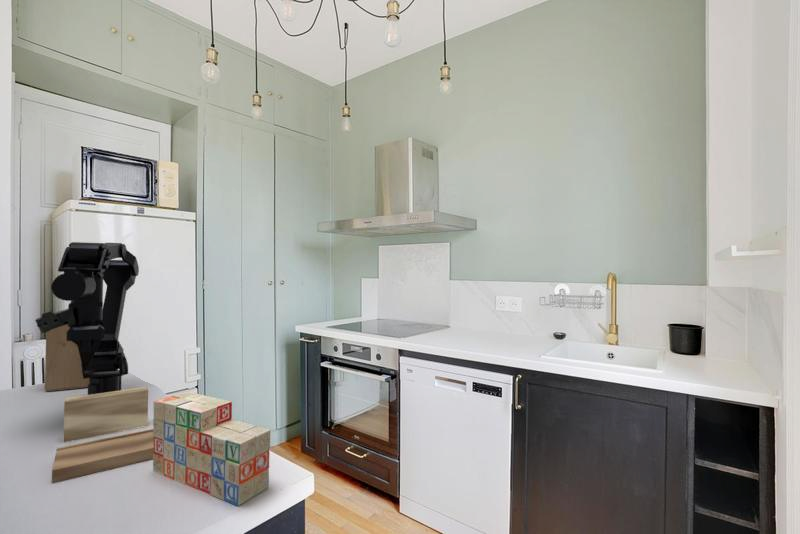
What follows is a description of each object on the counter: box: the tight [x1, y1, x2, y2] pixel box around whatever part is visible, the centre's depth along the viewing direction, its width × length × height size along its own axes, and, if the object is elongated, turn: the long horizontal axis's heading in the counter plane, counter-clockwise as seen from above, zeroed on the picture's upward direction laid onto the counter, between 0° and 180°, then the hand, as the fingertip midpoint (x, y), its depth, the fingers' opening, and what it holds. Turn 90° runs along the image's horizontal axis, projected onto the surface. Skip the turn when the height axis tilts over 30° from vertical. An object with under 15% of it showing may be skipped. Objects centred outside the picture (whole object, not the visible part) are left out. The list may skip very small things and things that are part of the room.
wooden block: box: [44, 324, 90, 392], centre depth 114 cm, size 10×10×20 cm
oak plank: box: [63, 386, 149, 443], centre depth 83 cm, size 3×14×8 cm, turn 128°
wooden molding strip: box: [51, 428, 154, 484], centre depth 72 cm, size 10×15×2 cm, turn 128°
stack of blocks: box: [152, 391, 271, 507], centre depth 65 cm, size 21×6×12 cm, turn 62°
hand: (85, 366), depth 90 cm, fingers closed
